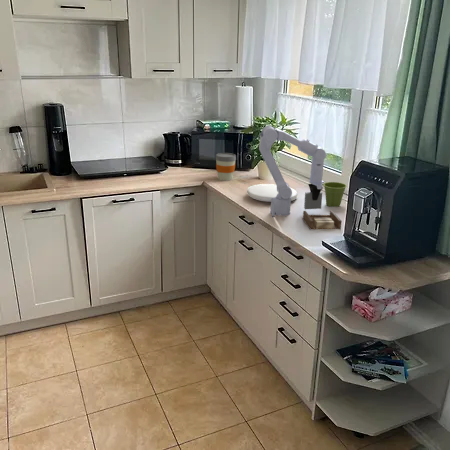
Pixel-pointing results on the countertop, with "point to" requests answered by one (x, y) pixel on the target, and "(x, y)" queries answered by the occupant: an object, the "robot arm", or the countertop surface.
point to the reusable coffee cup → (225, 165)
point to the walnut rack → (310, 218)
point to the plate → (266, 192)
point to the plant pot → (334, 193)
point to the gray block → (312, 201)
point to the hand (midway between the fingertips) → (314, 199)
